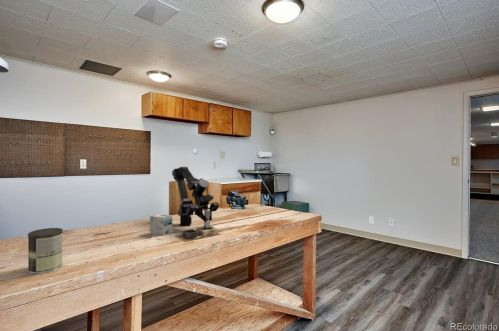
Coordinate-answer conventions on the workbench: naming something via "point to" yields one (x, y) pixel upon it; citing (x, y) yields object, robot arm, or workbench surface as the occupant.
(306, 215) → the workbench surface
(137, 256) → the workbench surface
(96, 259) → the workbench surface
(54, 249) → the coffee can
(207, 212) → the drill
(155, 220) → the light bulb box
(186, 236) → the socket rack board
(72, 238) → the workbench surface
